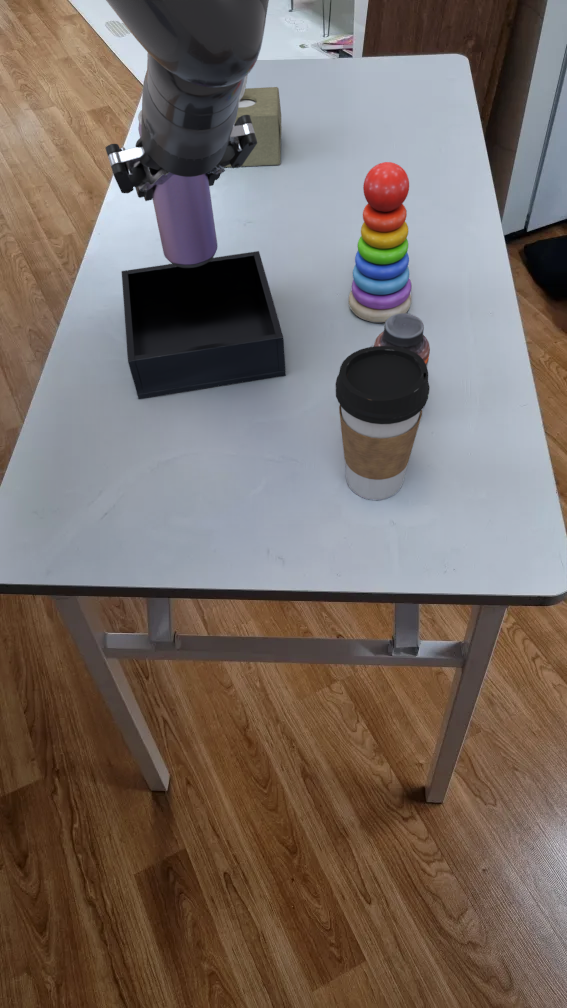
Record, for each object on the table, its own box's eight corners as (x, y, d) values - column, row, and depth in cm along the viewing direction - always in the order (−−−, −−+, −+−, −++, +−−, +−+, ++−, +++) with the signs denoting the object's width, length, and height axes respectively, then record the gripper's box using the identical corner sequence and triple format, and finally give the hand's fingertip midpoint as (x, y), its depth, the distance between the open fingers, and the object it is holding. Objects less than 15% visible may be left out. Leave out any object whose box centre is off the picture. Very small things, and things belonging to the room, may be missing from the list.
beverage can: (216, 269, 78) (195, 125, 66) (161, 271, 78) (131, 128, 66) (220, 238, 81) (201, 97, 69) (167, 240, 82) (140, 100, 70)
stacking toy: (344, 290, 95) (347, 149, 81) (404, 285, 96) (418, 142, 81) (353, 328, 91) (358, 184, 76) (416, 322, 91) (433, 177, 76)
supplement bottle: (370, 425, 80) (376, 344, 71) (366, 388, 84) (371, 307, 75) (424, 423, 80) (437, 342, 71) (418, 386, 84) (429, 305, 75)
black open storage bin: (138, 399, 84) (127, 361, 80) (131, 309, 95) (121, 270, 91) (285, 376, 86) (283, 337, 81) (262, 289, 96) (259, 250, 92)
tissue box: (167, 170, 118) (148, 64, 105) (173, 141, 124) (156, 38, 111) (282, 165, 117) (277, 58, 104) (282, 136, 123) (277, 32, 110)
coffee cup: (406, 517, 72) (422, 410, 60) (325, 500, 74) (324, 393, 62) (422, 456, 77) (439, 346, 65) (345, 442, 79) (348, 332, 67)
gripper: (259, 45, 59) (231, 132, 76) (87, 80, 57) (96, 162, 73) (284, 138, 60) (251, 204, 77) (116, 176, 58) (119, 236, 74)
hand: (176, 183), depth 75 cm, fingers closed on beverage can, 6 cm apart
